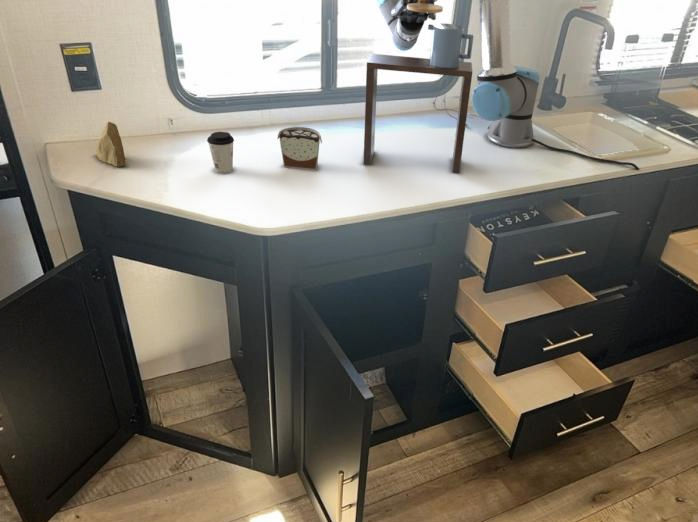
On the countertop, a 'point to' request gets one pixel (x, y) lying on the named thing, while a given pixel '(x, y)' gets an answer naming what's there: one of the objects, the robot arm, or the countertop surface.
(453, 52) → the jug
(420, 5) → the lid
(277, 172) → the countertop surface
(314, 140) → the food container
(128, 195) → the countertop surface
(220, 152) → the coffee cup
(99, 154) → the rock
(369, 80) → the riser
